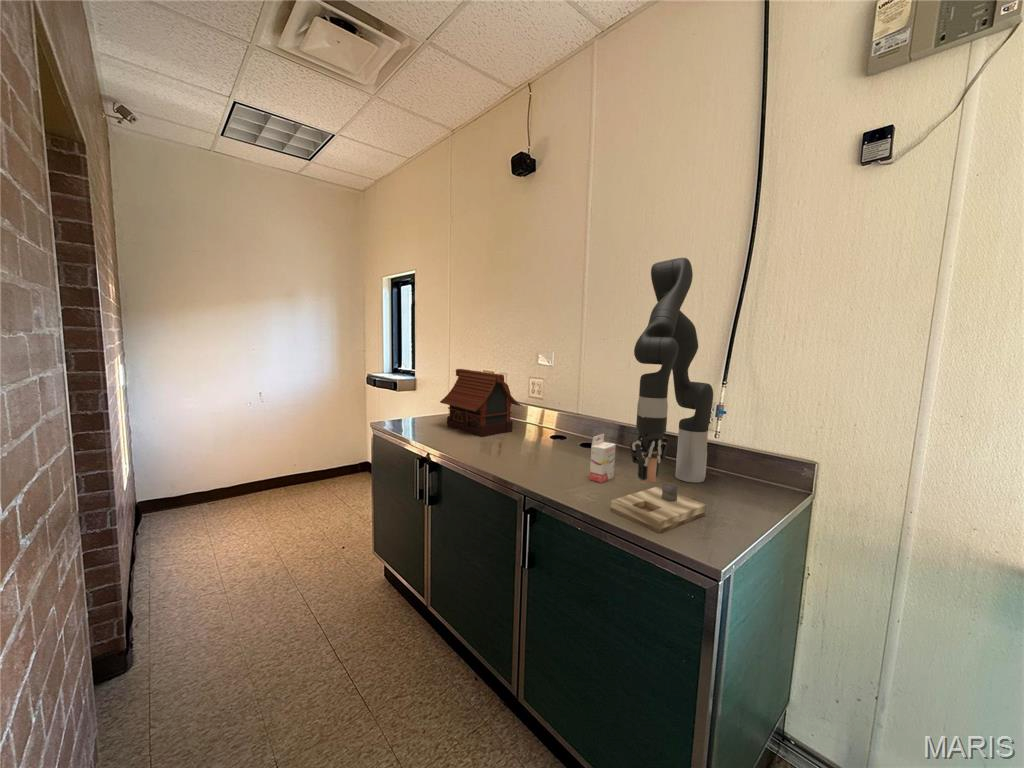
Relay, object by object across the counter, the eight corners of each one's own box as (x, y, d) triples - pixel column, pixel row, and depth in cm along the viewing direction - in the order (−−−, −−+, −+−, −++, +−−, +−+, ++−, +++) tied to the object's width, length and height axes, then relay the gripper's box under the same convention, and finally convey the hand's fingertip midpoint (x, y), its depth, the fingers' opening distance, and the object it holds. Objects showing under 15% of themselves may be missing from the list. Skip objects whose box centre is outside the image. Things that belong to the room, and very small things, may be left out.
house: (522, 431, 213) (523, 373, 209) (476, 439, 194) (477, 376, 191) (479, 419, 239) (480, 367, 235) (435, 426, 220) (435, 369, 217)
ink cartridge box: (602, 483, 141) (604, 439, 139) (589, 480, 144) (591, 437, 142) (614, 477, 147) (616, 435, 146) (601, 473, 150) (603, 432, 149)
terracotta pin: (646, 476, 117) (647, 455, 116) (658, 480, 114) (660, 458, 113) (636, 479, 115) (638, 457, 114) (649, 483, 111) (650, 461, 111)
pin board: (655, 496, 130) (657, 473, 130) (705, 515, 117) (707, 490, 117) (610, 510, 119) (611, 486, 118) (659, 533, 106) (661, 506, 105)
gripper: (656, 409, 119) (652, 469, 121) (622, 413, 111) (618, 478, 113) (681, 413, 113) (676, 477, 115) (646, 418, 105) (642, 486, 107)
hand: (647, 477), depth 114 cm, fingers closed on terracotta pin, 4 cm apart
